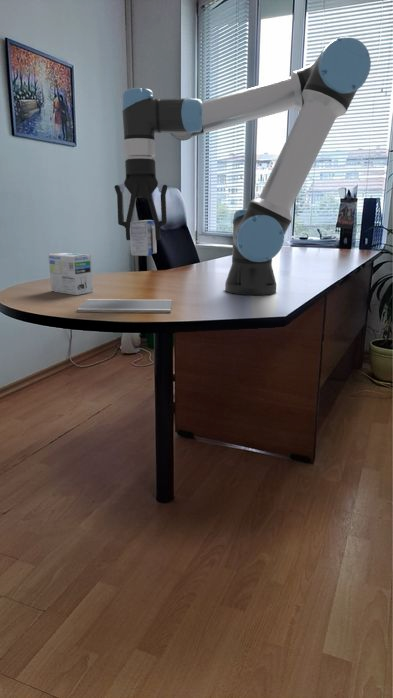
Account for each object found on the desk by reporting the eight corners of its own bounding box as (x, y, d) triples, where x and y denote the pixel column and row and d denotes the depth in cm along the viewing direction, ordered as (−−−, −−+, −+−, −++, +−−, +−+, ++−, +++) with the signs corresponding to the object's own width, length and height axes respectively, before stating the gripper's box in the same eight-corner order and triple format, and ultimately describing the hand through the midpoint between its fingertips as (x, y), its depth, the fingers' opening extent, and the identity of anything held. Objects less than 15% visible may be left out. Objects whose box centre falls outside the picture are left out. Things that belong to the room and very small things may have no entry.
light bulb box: (94, 292, 137) (92, 254, 134) (76, 295, 132) (74, 256, 128) (67, 288, 142) (65, 251, 139) (50, 291, 137) (47, 253, 134)
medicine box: (148, 256, 122) (147, 221, 120) (131, 255, 123) (129, 221, 120) (155, 253, 130) (154, 220, 127) (139, 252, 130) (138, 220, 128)
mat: (171, 302, 124) (171, 299, 124) (170, 312, 113) (170, 309, 113) (87, 301, 124) (87, 299, 124) (77, 312, 112) (77, 309, 112)
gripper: (176, 159, 123) (178, 251, 130) (106, 160, 123) (111, 251, 130) (176, 157, 116) (177, 254, 123) (101, 157, 116) (107, 254, 122)
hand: (143, 252), depth 126 cm, fingers closed on medicine box, 5 cm apart
